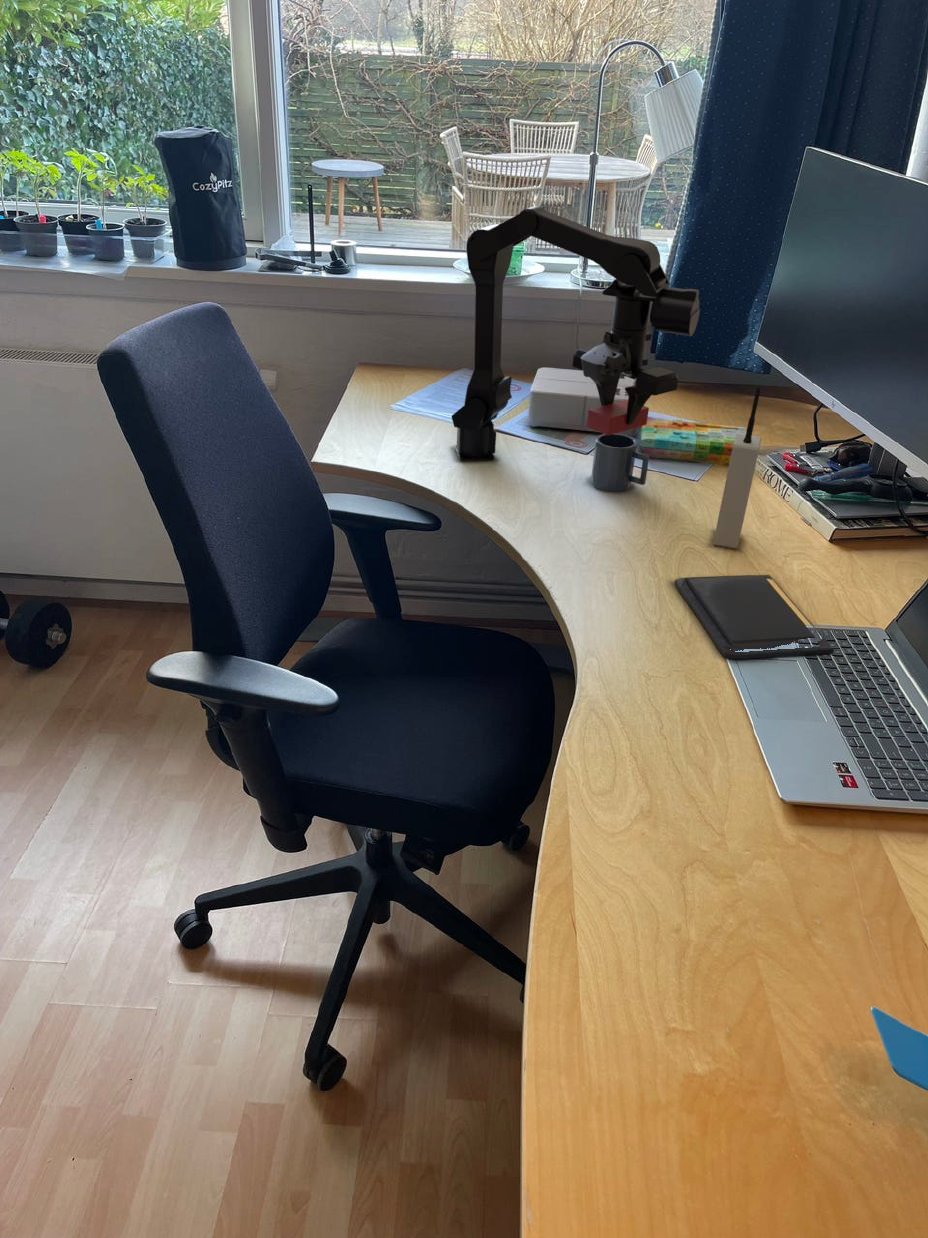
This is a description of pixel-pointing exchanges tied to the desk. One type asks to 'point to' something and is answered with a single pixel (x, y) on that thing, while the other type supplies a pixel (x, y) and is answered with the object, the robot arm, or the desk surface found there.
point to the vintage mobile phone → (738, 484)
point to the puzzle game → (688, 440)
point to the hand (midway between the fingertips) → (617, 419)
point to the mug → (616, 463)
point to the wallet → (748, 615)
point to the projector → (568, 399)
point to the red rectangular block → (614, 418)
